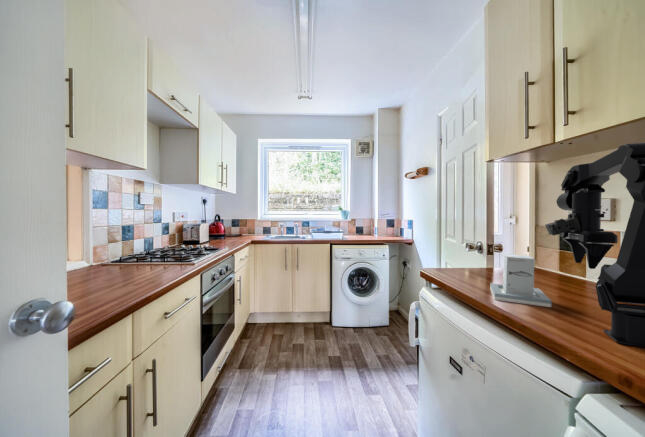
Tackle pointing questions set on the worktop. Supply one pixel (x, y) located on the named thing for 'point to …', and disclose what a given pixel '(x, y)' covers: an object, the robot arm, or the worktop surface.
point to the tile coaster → (520, 296)
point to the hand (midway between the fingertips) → (584, 265)
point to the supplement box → (518, 275)
